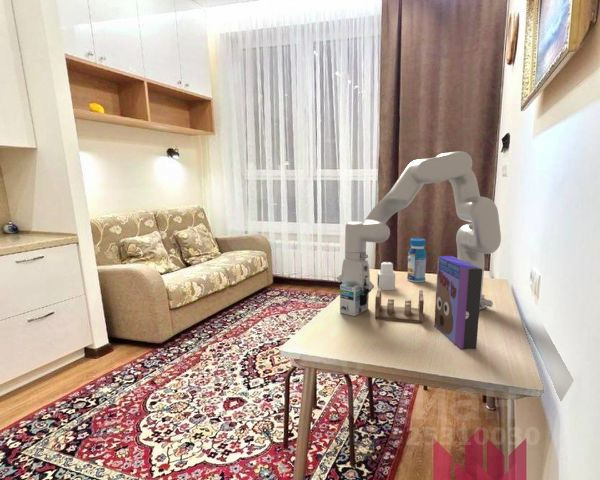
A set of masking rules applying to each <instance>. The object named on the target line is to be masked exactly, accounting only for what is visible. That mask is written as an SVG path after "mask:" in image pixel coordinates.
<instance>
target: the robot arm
mask: <svg viewBox="0 0 600 480" xmlns="http://www.w3.org/2000/svg"><path fill="white" fill-rule="evenodd" d="M472 158H473V157H472V156H471V155H470V154H468V152H466V151H450V152H442V153H440V154H438V155H436V156H435V157H428V158H420V159H414V160H412V161H411V162H409V164H407V166H406V167H405V169H404V170H403V172H402V173H401V175H400V176H399V177H398V179H397V180H396V182H395V183H394V184H393V186H392V187H391V189H389V192H388V193H387V194H386V195H385V196H384V197H382V199H381V200H379V201H378V203H377V204H376V205H375V206H374V207H373V208H372V209H371V211H370V212H369V214H368V215H367V217H366V218H365V219H364V220H363V221H348V222H346V224H345V232H344V234H345V237H344V238H345V239H344V258H343V260H342V267H341V274H340V275H338V276H337V277H336V279H337V282H338V284H339V286H340V285H341V284H344V283H349V284H352V285H356V286H359V288H360V292H361V294H362V295H360V306H363V305H365V304H366V303H367V294H368V293H369V294H370V293H371V292H372V290H373V289H374V288H375V285H374V283H373V282H372V281H371V278H370V277H371V275H370V266H369V261H368V258H369V255H368V254H367V243H375V244H381V243H384V242H386V241H387V240H389V238H390V236H391V230H390V227H389V226H388V225H387V221H388V220H389V219H390V218H392V216H394V215H395V214H396V213H397V212H400V211H402V210H404V209H406V208H407V207H408V206H410V204H411V203H412V202H413V200H414V198H415V197H416V196H417V194H418V193H419V192H420V190H421V189H422V188H423V186H424V184H429V185H430V184H434V183H440V182H445V181H449V183H450V184H451V187H452V192H453V198H454V206H455V212H456V215H457V217H458V218H459V219H460V220H462V221H465V222H468V223H467V224H464V225H461V227H459V229H458V230H457V232H456V237H455V240H456V249H457V252H456V253H457V257H456V258H458V259H460V260H462V261H464V262H467V263H469V264H471V265H474V266H476V267H478V268H481V269H482V282H481V295H480V308H479V311H482V310H484V309H486V307H490V308H492V307H493V306H494V302H493V300H492V299H486V298H485V294H483V287H484V286H483V285H484V272H485V255H490V254H494V253H496V252H497V250H498V249H499V247H500V245H501V242H502V235H501V234H502V233H501V224H500V216H499V211H498V207H497V205H496V203H495V202H494V201H493V200H492V199H491V198H488V197H485V196H481V195H480V188H479V185H478V180H477V176H476V174H475V172H474V171H473V170H472V167H473V159H472ZM366 286H368V288H367V287H366ZM363 289H364V290H363Z"/></svg>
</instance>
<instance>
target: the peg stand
mask: <svg viewBox="0 0 600 480" xmlns="http://www.w3.org/2000/svg"><path fill="white" fill-rule="evenodd" d="M382 291H383V290H382V288H381V287H378V286H377V290H376V294H375V303H374V305H375V306H374V308H375V309H374V319H375V320H381V321H382V320H383V321H393V322H395V321H396V322H404V323H415V324H423V322H424V321H423V320H424V304H425V303H424V302H425V301H424V300H425V299H424V292H423V291H424V290H419V291H418V307H417V308H416V307H412V300H410V299H406V300H404V306H395V299H394V298H387V304H386V305H385V304H384V305H383V304H382Z"/></svg>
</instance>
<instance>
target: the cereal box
mask: <svg viewBox="0 0 600 480" xmlns="http://www.w3.org/2000/svg"><path fill="white" fill-rule="evenodd" d="M436 270H437V273H436V287H435V289H436V290H435V302H434V303H435V305H434V321H433V322H434V325H433V326H434V328H435V329H437V330H438V331H439V332H440V333H441V334H442V335H443V336H445V337H446V338H447V339H448V340H449V341H450V342H451V343H453V344H454V345H455V346H456V347H457V348H458V349H459V350H473V349H474V350H477V343H478V331H479V330H478V329H479V318H480V310H479V308H480V295H481V282H482V269H481V268H478V267H476V266H474V265H471V264H469V263H467V262H464V261H462V260H460V259H458V258H457V257H455V256H452V255H441V256H437V269H436Z"/></svg>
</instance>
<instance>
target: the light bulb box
mask: <svg viewBox="0 0 600 480" xmlns="http://www.w3.org/2000/svg"><path fill="white" fill-rule="evenodd" d="M366 287H367V288H368V286H366ZM339 288H340V289H339V293H340V294H339V313H340V314H344V315H348V316H352V317H357V316H358V315H360V314H361V313H364V312H365V311H367V310H369V298H370V297H369V294H370V292H369V293H368V294H367V303H366V304H365V305H363V306H360V295H362V294H361V292H360V288H359V286H356V285H352V284H349V283H344V284H341V285H340V284H339ZM363 290H364V289H363Z"/></svg>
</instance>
